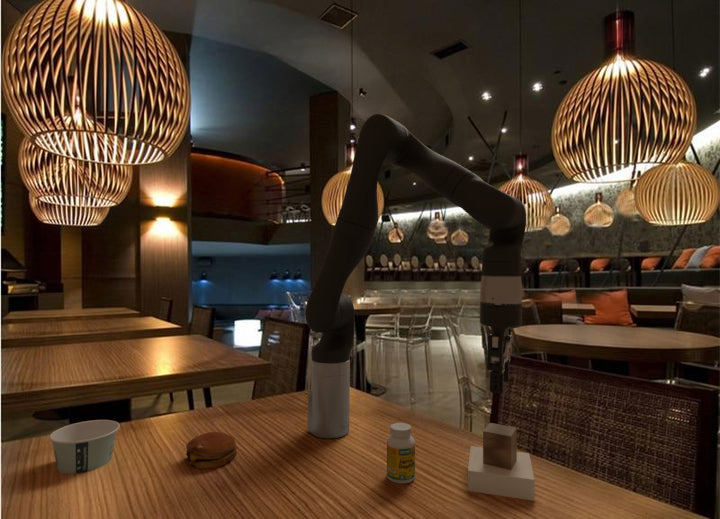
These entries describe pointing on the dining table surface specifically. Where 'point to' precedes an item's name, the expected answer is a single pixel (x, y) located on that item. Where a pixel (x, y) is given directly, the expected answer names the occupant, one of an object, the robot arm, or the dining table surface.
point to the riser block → (501, 476)
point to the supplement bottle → (400, 454)
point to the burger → (211, 450)
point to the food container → (84, 445)
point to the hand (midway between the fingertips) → (499, 387)
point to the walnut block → (500, 446)
